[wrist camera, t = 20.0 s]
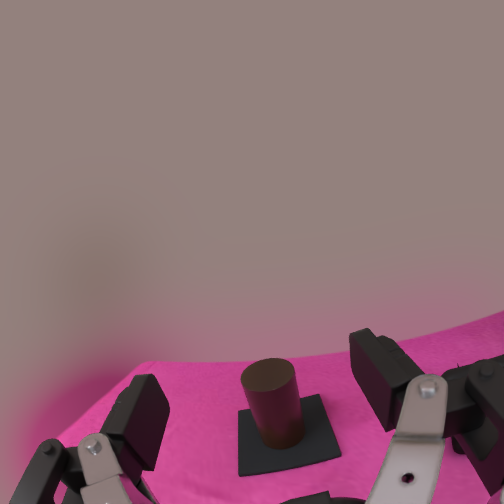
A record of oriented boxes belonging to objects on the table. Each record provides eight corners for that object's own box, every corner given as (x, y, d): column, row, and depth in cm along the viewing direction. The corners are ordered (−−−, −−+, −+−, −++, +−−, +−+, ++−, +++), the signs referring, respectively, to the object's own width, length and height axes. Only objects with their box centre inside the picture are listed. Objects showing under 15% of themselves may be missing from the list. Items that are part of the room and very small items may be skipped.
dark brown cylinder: (301, 413, 26) (289, 353, 25) (309, 443, 22) (298, 383, 20) (259, 422, 26) (240, 363, 25) (262, 453, 22) (240, 395, 20)
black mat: (319, 396, 29) (318, 393, 29) (341, 456, 19) (341, 453, 19) (239, 413, 29) (238, 410, 29) (239, 476, 19) (238, 474, 19)
